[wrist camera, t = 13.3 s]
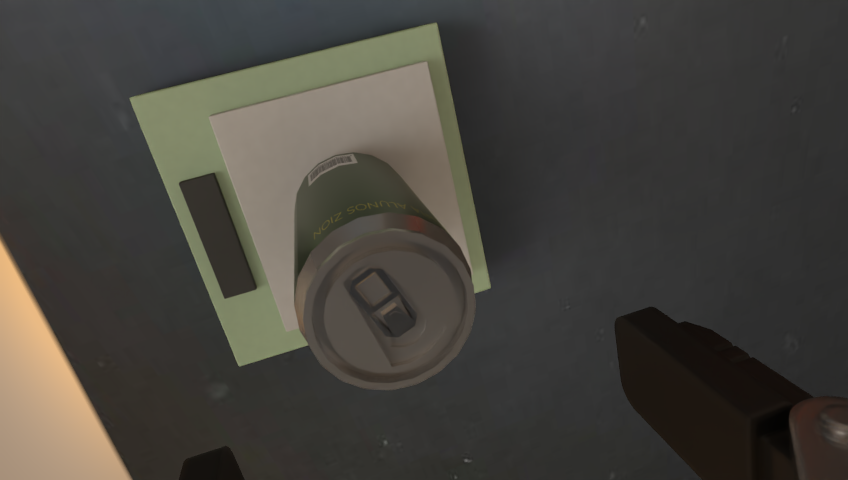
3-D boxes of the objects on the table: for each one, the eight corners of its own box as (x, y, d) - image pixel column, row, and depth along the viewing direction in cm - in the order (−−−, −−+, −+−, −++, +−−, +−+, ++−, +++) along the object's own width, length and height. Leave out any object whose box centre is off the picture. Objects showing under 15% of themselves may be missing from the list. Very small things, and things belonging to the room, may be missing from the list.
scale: (243, 340, 32) (237, 375, 28) (145, 93, 27) (123, 99, 23) (475, 268, 34) (496, 294, 30) (423, 24, 29) (441, 21, 25)
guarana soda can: (270, 194, 26) (251, 301, 15) (364, 126, 26) (417, 182, 15) (340, 279, 28) (369, 429, 17) (428, 215, 28) (516, 324, 17)
